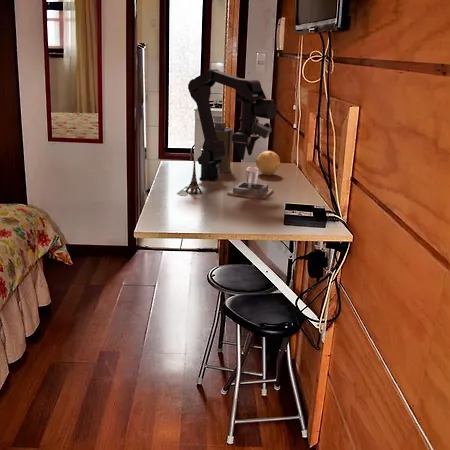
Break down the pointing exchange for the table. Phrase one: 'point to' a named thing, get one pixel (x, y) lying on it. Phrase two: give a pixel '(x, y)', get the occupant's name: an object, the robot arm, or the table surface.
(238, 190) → the frame
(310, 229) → the table surface
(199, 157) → the robot arm
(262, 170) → the stress ball
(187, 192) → the eiffel tower figurine
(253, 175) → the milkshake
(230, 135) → the canister
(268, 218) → the table surface
